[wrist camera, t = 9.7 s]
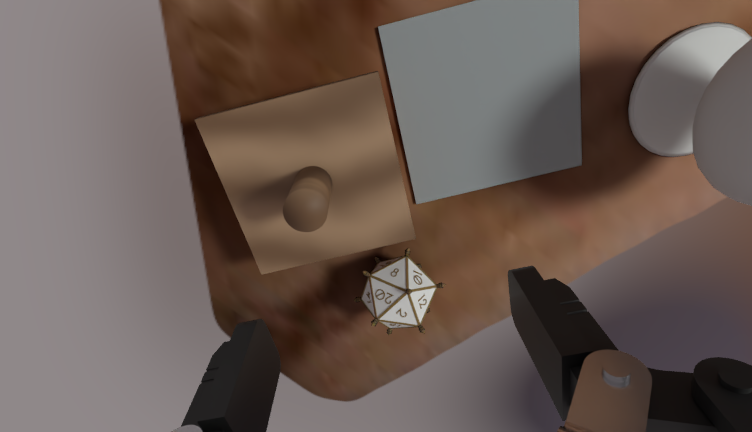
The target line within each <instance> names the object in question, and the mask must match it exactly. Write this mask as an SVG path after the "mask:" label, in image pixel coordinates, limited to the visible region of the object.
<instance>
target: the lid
mask: <svg viewBox="0 0 752 432" xmlns="http://www.w3.org/2000/svg"><path fill="white" fill-rule="evenodd" d="M195 122H196V125H197V127H198V129H199V131H200V134H201V136H202V138H203V141H204V143H205V145H206V148H207V150H208V152H209V155H210V157H211V159H212V161H213V164H214V166H215V168H216V171H217V173H218V175H219V178H220V180H221V182H222V184H223V187H224V189H225V191H226V194H227V196H228V198H229V201H230V203H231V205H232V208H233V210H234V212H235V214H236V217H237V219H238V221H239V224H240V226H241V228H242V231H243V233H244V235H245V237H246V240H247V242H248V244H249V247H250V249H251V251H252V254H253V256H254V258H255V260H256V263H257V265H258V267H259V270H260V272H261V274H266V273H270V272H275V271H279V270H283V269H288V268H292V267H296V266H300V265H305V264H309V263H313V262H318V261H322V260H326V259H331V258H335V257H339V256H344V255H348V254H352V253H357V252H361V251H365V250H370V249H374V248H378V247H383V246H387V245H391V244H396V243H400V242H404V241H409V240H413V239H416V236H415V232H414V228H413V223H412V219H411V214H410V210H409V206H408V201H407V197H406V192H405V188H404V183H403V179H402V175H401V170H400V166H399V161H398V157H397V153H396V148H395V144H394V139H393V135H392V130H391V126H390V122H389V117H388V113H387V108H386V104H385V100H384V95H383V91H382V86H381V82H380V77H379V73H378V71H375V72H371V73H367V74H363V75H359V76H356V77H352V78H348V79H344V80H340V81H336V82H333V83H329V84H325V85H321V86H317V87H313V88H310V89H306V90H302V91H298V92H294V93H290V94H287V95H283V96H279V97H275V98H271V99H267V100H264V101H260V102H256V103H252V104H248V105H244V106H241V107H237V108H233V109H229V110H225V111H221V112H218V113H214V114H210V115H206V116H202V117H199V118H197V119H195Z"/></svg>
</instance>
